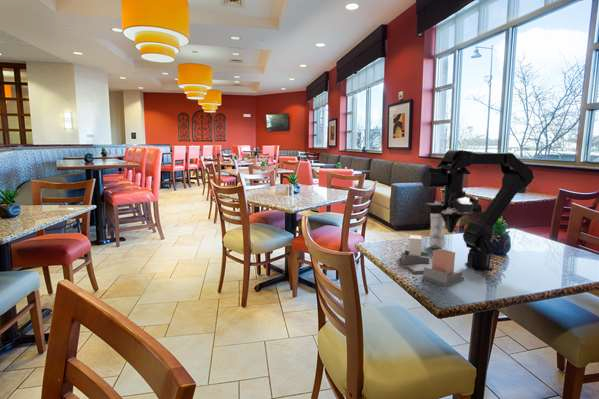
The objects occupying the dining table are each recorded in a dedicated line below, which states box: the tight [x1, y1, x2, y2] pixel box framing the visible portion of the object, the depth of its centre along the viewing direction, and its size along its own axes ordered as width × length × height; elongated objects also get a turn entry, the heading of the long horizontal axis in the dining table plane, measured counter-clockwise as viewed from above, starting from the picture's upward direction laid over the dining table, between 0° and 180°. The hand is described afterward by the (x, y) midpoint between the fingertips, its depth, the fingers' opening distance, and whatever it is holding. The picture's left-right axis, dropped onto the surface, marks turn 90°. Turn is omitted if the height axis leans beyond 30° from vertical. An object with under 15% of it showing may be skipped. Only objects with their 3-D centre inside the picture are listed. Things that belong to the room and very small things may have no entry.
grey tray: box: [400, 246, 465, 288], centre depth 119 cm, size 13×30×4 cm, turn 9°
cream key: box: [408, 234, 423, 256], centre depth 127 cm, size 4×5×8 cm
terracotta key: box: [432, 248, 456, 275], centre depth 109 cm, size 4×5×8 cm
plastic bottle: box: [428, 200, 446, 250], centre depth 144 cm, size 6×7×20 cm
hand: (450, 232), depth 118 cm, fingers closed
